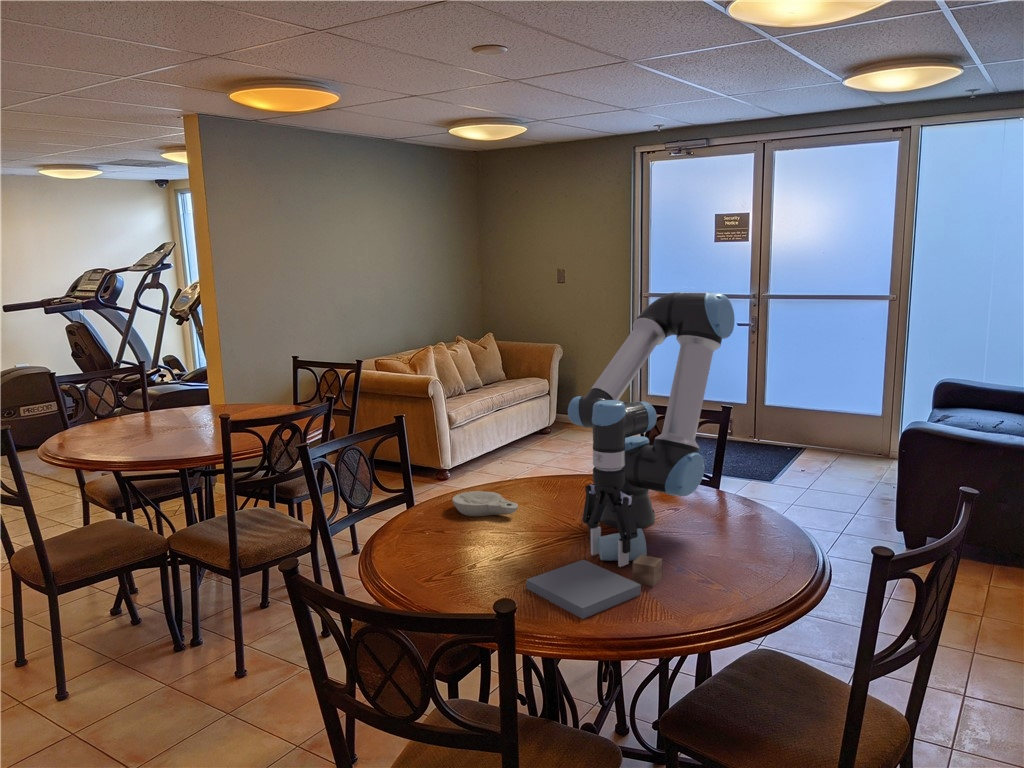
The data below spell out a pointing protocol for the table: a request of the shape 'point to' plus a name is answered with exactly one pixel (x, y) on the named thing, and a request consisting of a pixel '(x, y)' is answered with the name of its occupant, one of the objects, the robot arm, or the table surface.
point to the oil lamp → (483, 504)
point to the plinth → (583, 588)
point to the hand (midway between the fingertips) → (609, 559)
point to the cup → (610, 546)
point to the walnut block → (647, 570)
